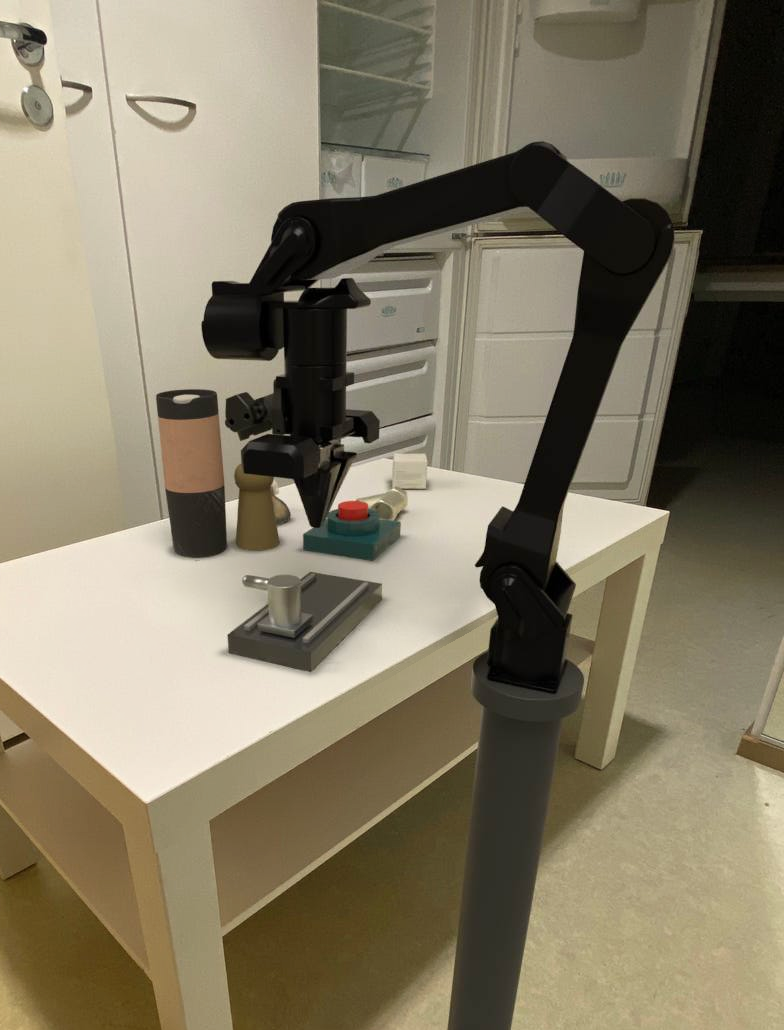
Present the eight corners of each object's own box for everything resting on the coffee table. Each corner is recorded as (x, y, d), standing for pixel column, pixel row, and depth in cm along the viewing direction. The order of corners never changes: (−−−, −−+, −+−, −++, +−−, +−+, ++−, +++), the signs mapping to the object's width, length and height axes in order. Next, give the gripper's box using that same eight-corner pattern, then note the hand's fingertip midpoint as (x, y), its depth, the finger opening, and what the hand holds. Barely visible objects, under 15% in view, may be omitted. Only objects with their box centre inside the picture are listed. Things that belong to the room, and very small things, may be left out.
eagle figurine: (224, 506, 111) (245, 510, 103) (242, 463, 111) (265, 464, 103) (265, 526, 115) (289, 532, 107) (283, 485, 115) (308, 487, 107)
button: (372, 515, 98) (372, 502, 97) (361, 523, 94) (361, 510, 94) (345, 511, 99) (345, 499, 98) (333, 520, 96) (333, 507, 95)
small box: (424, 480, 126) (426, 452, 124) (426, 489, 121) (428, 460, 119) (391, 480, 127) (392, 452, 125) (392, 489, 122) (393, 460, 120)
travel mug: (205, 535, 103) (192, 387, 94) (240, 547, 98) (230, 392, 89) (160, 549, 98) (142, 394, 89) (194, 562, 93) (179, 400, 84)
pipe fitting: (349, 526, 106) (393, 527, 104) (347, 499, 105) (392, 500, 102) (365, 510, 113) (408, 511, 110) (364, 485, 111) (407, 485, 109)
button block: (400, 537, 100) (401, 509, 99) (373, 560, 92) (373, 530, 91) (334, 528, 104) (334, 500, 103) (303, 549, 97) (302, 520, 95)
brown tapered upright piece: (263, 553, 96) (259, 470, 91) (226, 545, 99) (220, 464, 94) (288, 540, 100) (285, 460, 95) (252, 533, 103) (248, 455, 98)
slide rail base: (382, 599, 81) (382, 579, 80) (311, 671, 67) (310, 648, 66) (310, 587, 85) (309, 567, 84) (228, 652, 71) (226, 629, 70)
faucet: (313, 621, 72) (312, 576, 70) (294, 638, 69) (292, 591, 66) (255, 610, 74) (252, 566, 72) (234, 625, 71) (231, 580, 69)
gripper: (285, 350, 77) (289, 494, 84) (183, 371, 62) (198, 544, 69) (383, 353, 73) (378, 505, 80) (299, 377, 58) (302, 561, 65)
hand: (316, 526), depth 74 cm, fingers closed
